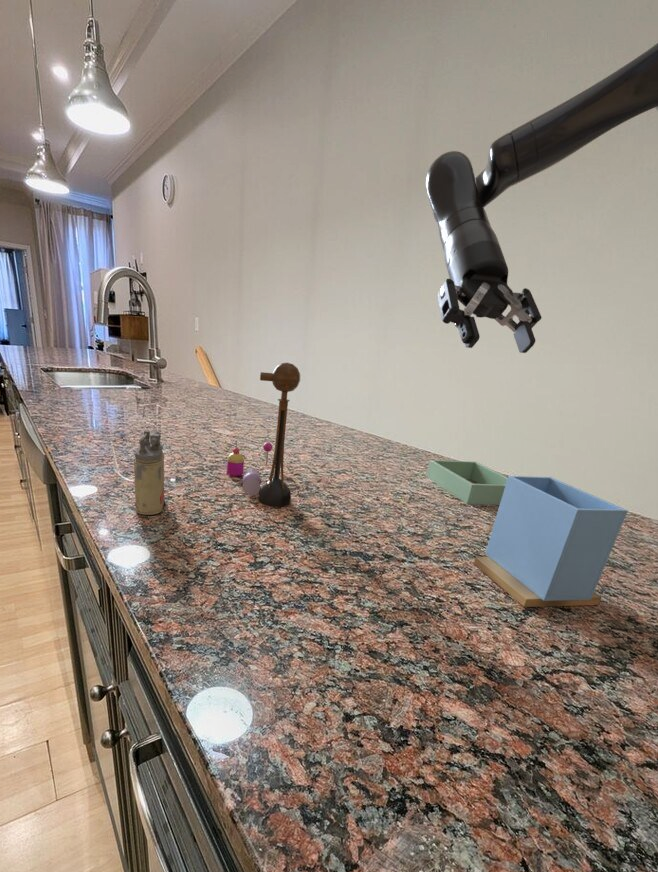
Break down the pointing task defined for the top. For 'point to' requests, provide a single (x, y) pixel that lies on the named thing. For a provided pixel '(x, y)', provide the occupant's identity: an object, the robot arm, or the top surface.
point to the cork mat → (523, 587)
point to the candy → (250, 475)
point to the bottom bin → (455, 482)
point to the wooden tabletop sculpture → (279, 435)
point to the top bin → (553, 537)
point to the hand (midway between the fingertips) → (500, 346)
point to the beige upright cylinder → (149, 475)
